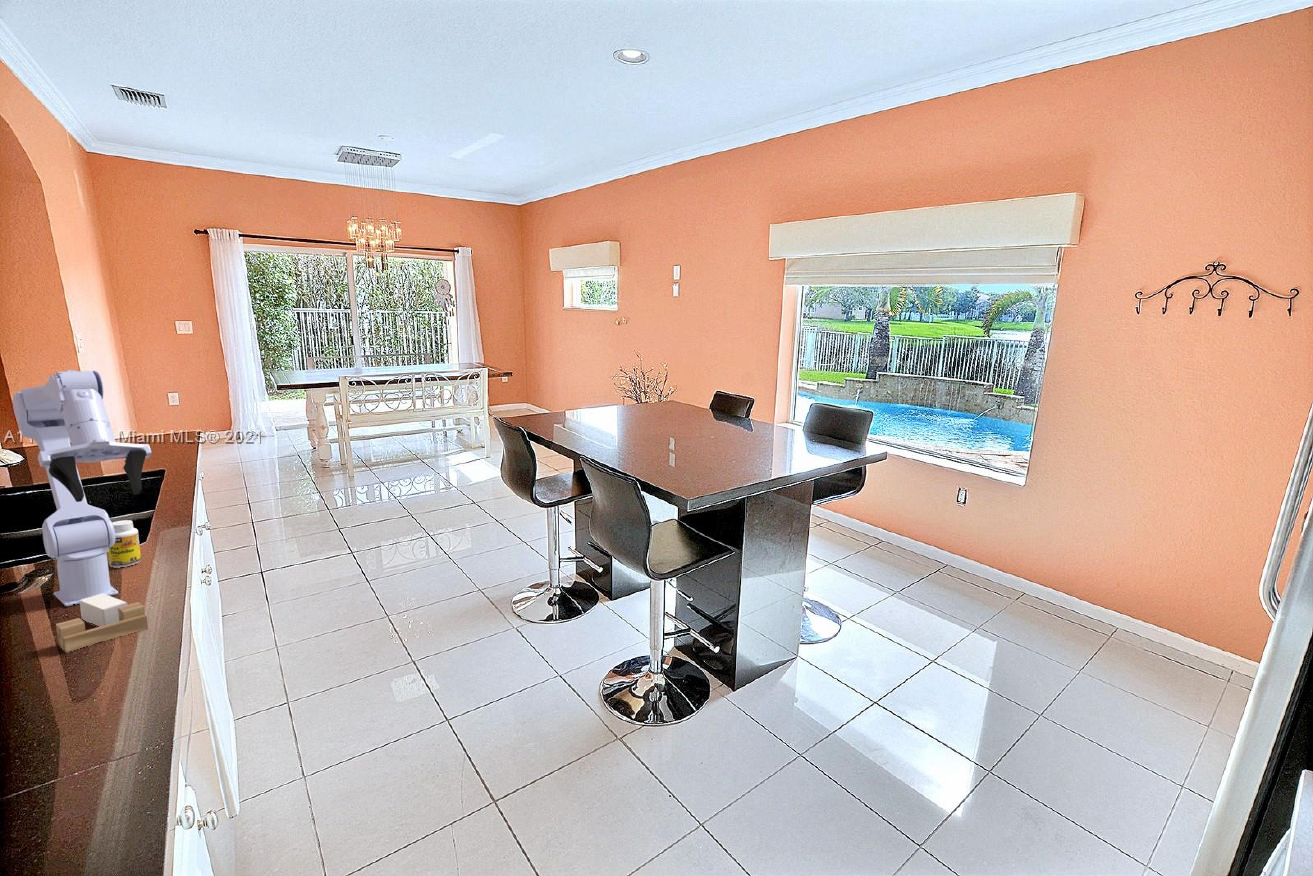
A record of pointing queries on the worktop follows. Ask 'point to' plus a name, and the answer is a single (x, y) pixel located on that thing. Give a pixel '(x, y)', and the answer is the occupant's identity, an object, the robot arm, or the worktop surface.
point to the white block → (100, 609)
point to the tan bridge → (101, 628)
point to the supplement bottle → (124, 545)
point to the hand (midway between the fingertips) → (110, 495)
